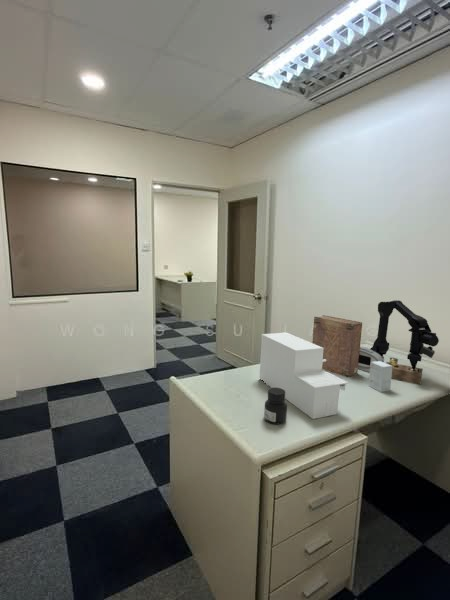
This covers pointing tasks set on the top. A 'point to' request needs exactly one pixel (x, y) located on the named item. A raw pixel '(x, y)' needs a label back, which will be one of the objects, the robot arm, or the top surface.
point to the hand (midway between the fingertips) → (413, 369)
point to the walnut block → (406, 374)
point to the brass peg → (393, 362)
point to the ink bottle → (275, 406)
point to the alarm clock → (367, 358)
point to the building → (300, 374)
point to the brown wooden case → (338, 343)
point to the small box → (380, 376)
